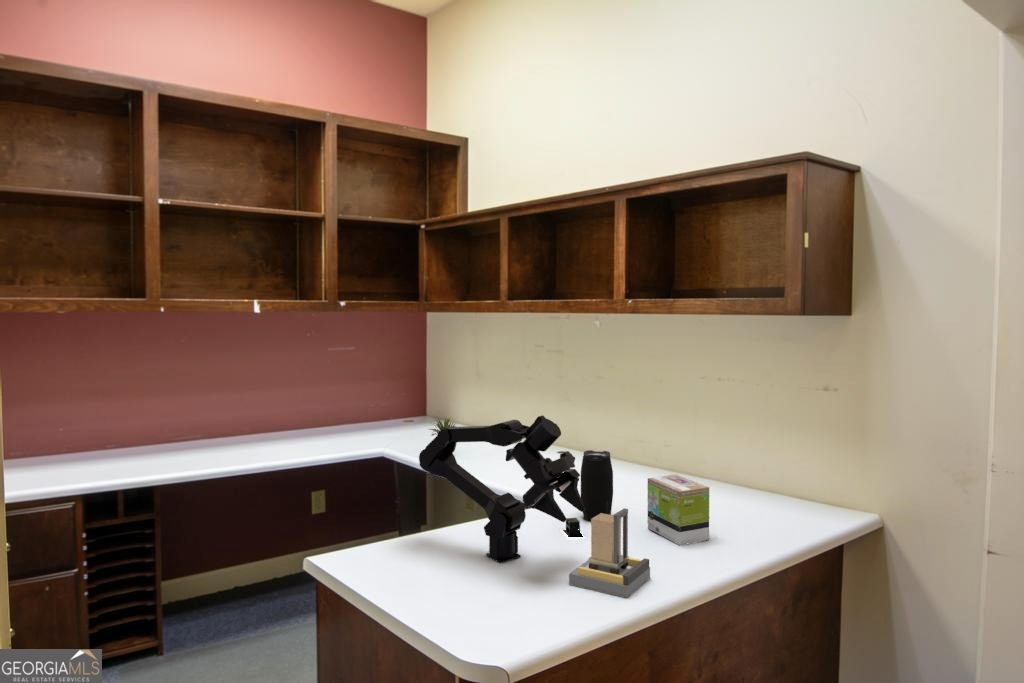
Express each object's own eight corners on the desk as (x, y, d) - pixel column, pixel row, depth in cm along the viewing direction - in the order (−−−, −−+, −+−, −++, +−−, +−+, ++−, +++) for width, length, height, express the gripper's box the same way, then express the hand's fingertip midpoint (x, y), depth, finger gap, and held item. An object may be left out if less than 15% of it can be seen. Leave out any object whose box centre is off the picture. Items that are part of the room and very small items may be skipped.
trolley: (588, 570, 159) (588, 510, 158) (599, 562, 164) (599, 504, 163) (617, 577, 155) (617, 515, 154) (628, 568, 160) (628, 508, 159)
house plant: (432, 450, 303) (431, 412, 303) (463, 451, 301) (463, 413, 301) (423, 457, 289) (422, 418, 288) (456, 458, 287) (455, 418, 286)
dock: (569, 584, 157) (569, 564, 157) (594, 565, 168) (594, 547, 168) (627, 598, 150) (627, 577, 150) (650, 577, 161) (650, 558, 161)
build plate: (555, 530, 197) (554, 513, 197) (580, 528, 198) (580, 512, 198) (565, 544, 185) (565, 527, 185) (592, 543, 186) (592, 526, 186)
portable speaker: (592, 512, 212) (592, 448, 211) (617, 518, 206) (618, 452, 205) (575, 519, 205) (575, 452, 204) (600, 525, 199) (600, 457, 198)
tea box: (646, 529, 195) (646, 477, 195) (675, 524, 199) (676, 473, 199) (679, 546, 182) (679, 490, 181) (710, 541, 186) (710, 485, 185)
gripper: (533, 449, 158) (577, 504, 152) (572, 435, 173) (613, 485, 168) (504, 479, 162) (546, 534, 157) (545, 463, 178) (584, 513, 172)
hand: (574, 515), depth 163 cm, fingers open, 9 cm apart
